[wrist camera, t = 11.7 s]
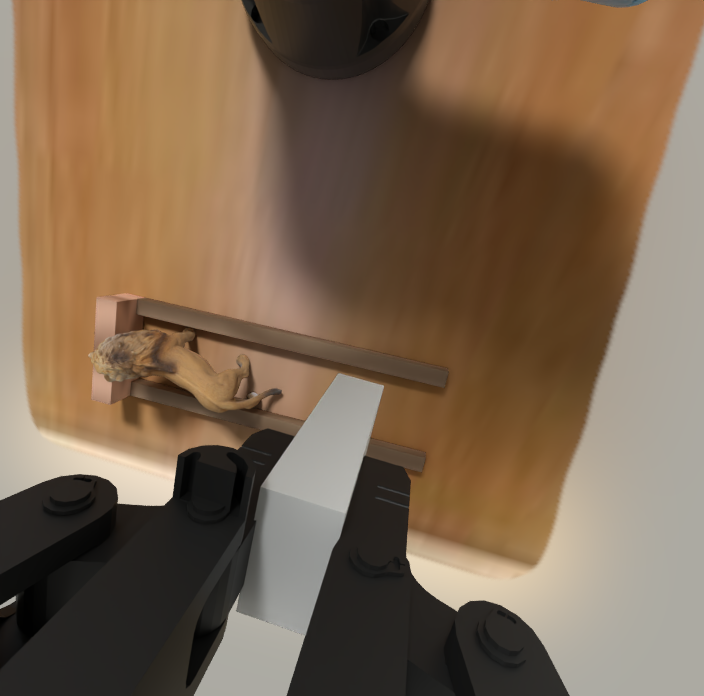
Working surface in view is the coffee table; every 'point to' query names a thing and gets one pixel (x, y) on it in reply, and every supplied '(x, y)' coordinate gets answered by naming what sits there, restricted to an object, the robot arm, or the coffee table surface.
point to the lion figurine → (174, 367)
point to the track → (131, 309)
